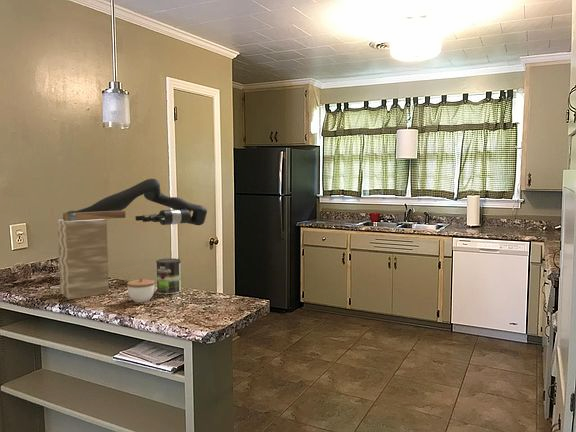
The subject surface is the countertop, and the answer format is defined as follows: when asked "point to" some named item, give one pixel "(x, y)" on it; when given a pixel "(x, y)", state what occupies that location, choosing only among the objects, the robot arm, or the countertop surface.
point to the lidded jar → (141, 290)
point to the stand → (83, 257)
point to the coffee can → (168, 276)
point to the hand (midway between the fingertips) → (139, 219)
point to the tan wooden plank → (93, 215)
